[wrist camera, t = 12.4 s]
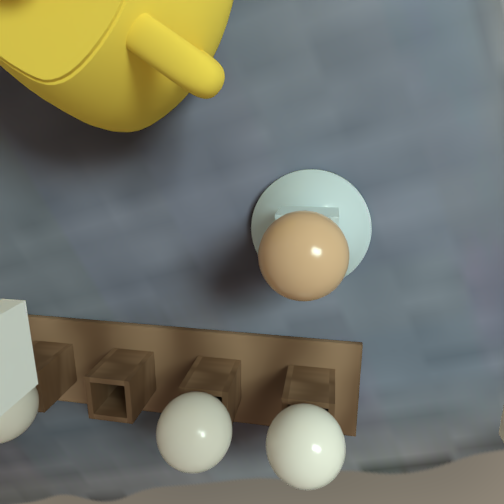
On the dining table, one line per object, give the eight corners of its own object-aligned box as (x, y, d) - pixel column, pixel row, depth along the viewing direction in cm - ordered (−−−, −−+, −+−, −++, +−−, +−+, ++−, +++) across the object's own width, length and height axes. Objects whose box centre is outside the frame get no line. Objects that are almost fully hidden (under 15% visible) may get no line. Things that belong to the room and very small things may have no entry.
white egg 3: (271, 446, 30) (259, 503, 25) (272, 384, 28) (260, 432, 24) (342, 455, 29) (343, 516, 24) (346, 392, 27) (349, 443, 23)
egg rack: (28, 393, 38) (-13, 428, 33) (15, 313, 36) (-30, 339, 31) (355, 432, 33) (358, 479, 29) (362, 342, 31) (366, 377, 27)
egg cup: (252, 280, 31) (237, 306, 27) (252, 168, 29) (236, 174, 24) (366, 287, 30) (372, 316, 25) (375, 169, 28) (383, 177, 23)
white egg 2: (173, 433, 31) (145, 485, 26) (170, 373, 30) (140, 417, 25) (239, 442, 30) (222, 497, 25) (239, 381, 29) (221, 427, 24)
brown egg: (265, 202, 25) (250, 217, 20) (350, 205, 24) (354, 221, 20) (264, 281, 26) (250, 311, 22) (345, 286, 25) (347, 319, 21)
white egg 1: (0, 411, 33) (-53, 455, 29) (-10, 355, 32) (-67, 391, 27) (57, 418, 32) (11, 465, 28) (49, 361, 31) (0, 400, 27)
